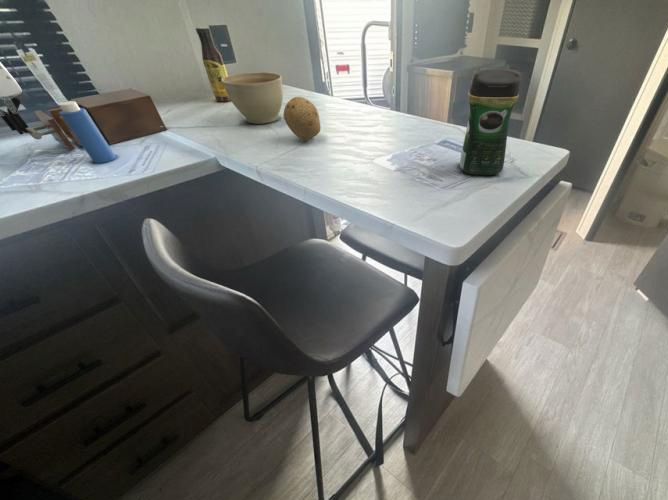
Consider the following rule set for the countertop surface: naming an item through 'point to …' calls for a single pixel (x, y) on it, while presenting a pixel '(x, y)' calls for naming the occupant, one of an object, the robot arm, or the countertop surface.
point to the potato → (302, 118)
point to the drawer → (56, 128)
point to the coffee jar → (489, 120)
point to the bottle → (86, 132)
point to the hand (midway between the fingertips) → (23, 132)
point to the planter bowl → (256, 95)
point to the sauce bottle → (213, 64)
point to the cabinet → (123, 114)
